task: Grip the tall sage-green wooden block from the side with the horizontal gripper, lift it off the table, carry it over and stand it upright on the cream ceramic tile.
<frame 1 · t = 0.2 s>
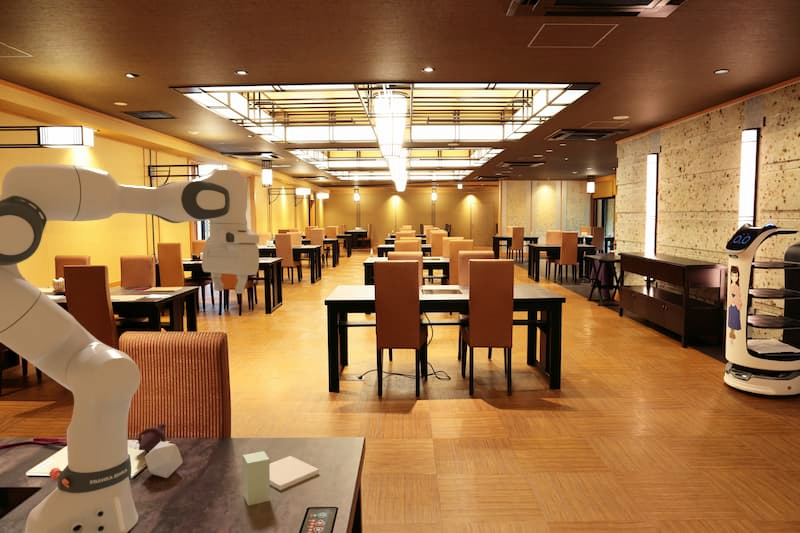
hand: (228, 292, 134), 47 cm above the table, tool pointing down, fingers open, 8 cm apart
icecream: (152, 452, 153), on the table
die: (164, 474, 139), on the table
cream tile: (285, 474, 140), on the table
green block: (256, 498, 127), on the table
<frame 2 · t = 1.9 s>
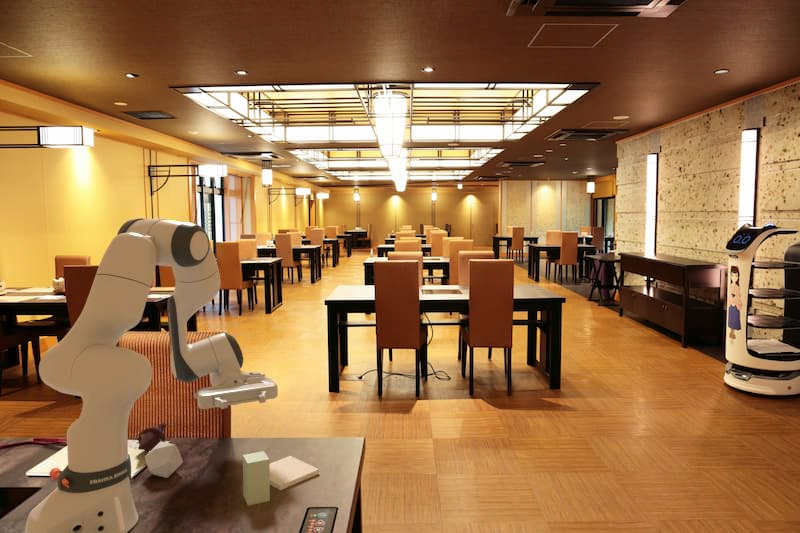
hand: (244, 402, 137), 19 cm above the table, tool horizontal, fingers open, 8 cm apart
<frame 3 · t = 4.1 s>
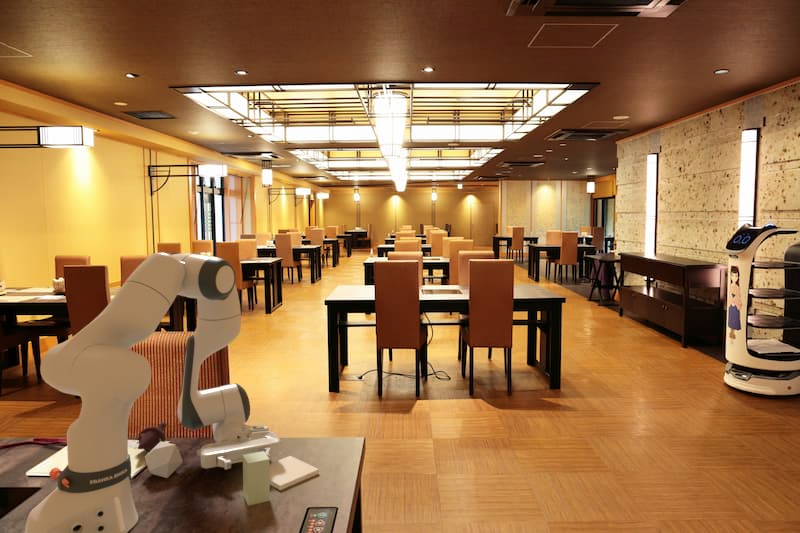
hand: (247, 462, 134), 5 cm above the table, tool horizontal, fingers open, 8 cm apart
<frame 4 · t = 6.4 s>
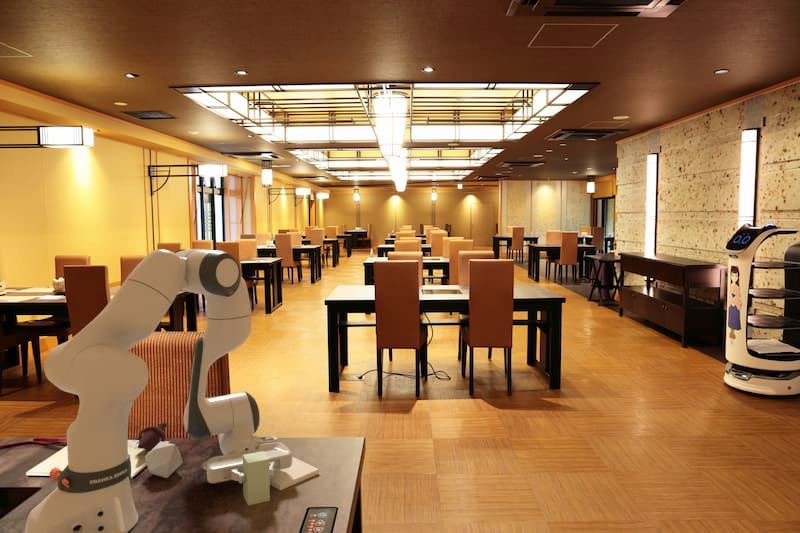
hand: (257, 476, 126), 6 cm above the table, tool horizontal, fingers closed on green block, 5 cm apart
green block: (256, 498, 127), on the table, touching gripper
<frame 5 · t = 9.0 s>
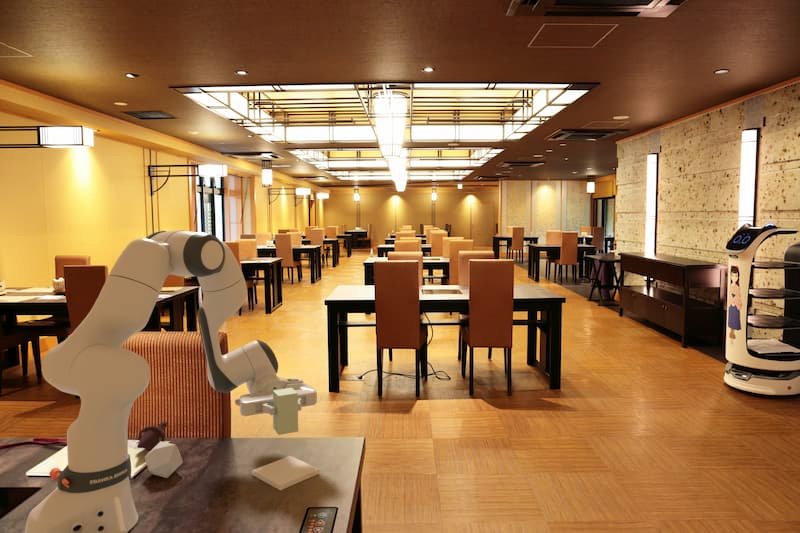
hand: (286, 409, 137), 17 cm above the table, tool horizontal, fingers closed on green block, 5 cm apart
green block: (285, 429, 139), point 12 cm above the table, touching gripper
when the fingers open (8 cm above the table, at t = 11.6 s): green block drops 1 cm, resting on cream tile.
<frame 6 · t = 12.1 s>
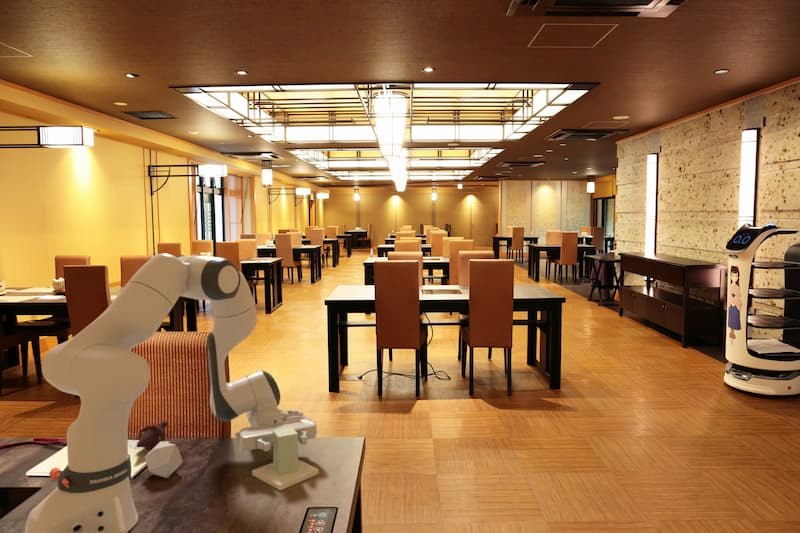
hand: (286, 444, 138), 8 cm above the table, tool horizontal, fingers open, 8 cm apart
green block: (285, 469, 140), point 1 cm above the table, touching cream tile
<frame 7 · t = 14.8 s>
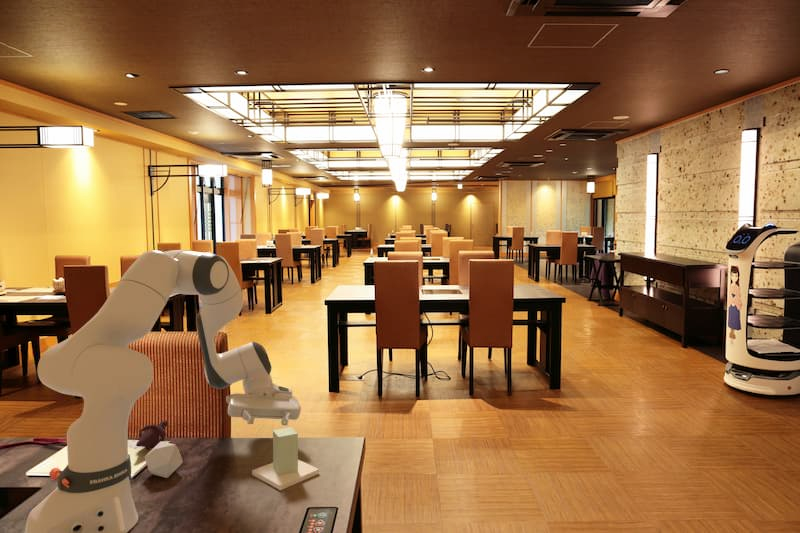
hand: (268, 422, 148), 10 cm above the table, tool horizontal, fingers open, 8 cm apart
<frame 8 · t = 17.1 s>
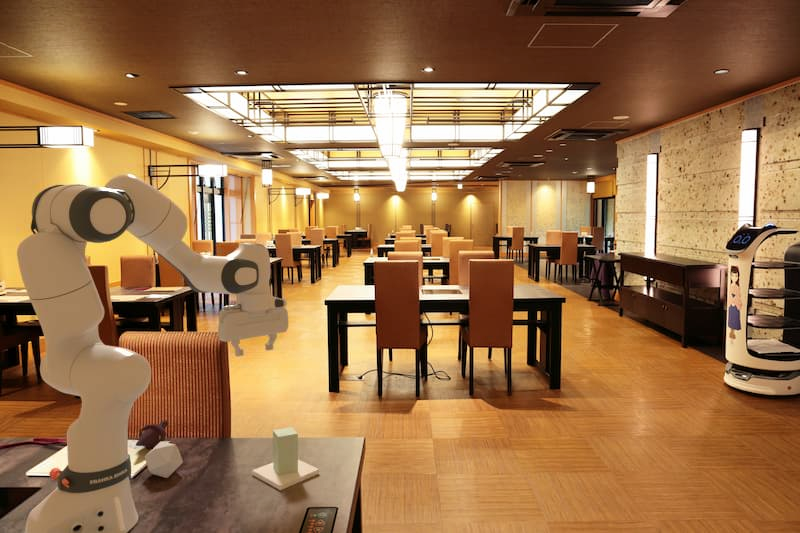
hand: (254, 352, 148), 29 cm above the table, tool pointing down, fingers open, 8 cm apart
at the end: green block inside the target area on the cream tile (0.0 cm from its centre), point 1.2 cm above the cream tile's base; green block tilted 0°; the gripper is holding nothing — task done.
